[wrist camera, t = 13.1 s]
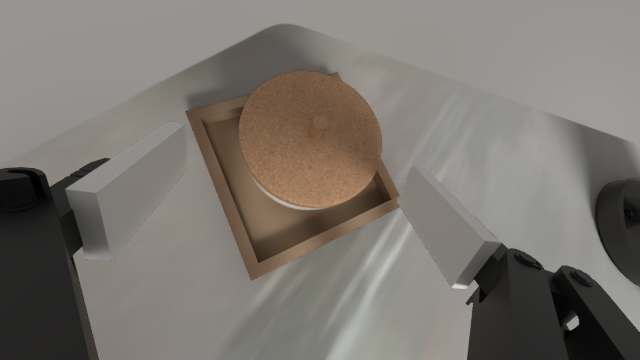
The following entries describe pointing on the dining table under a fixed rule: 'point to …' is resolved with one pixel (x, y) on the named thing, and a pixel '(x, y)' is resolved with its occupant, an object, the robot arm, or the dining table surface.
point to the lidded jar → (309, 140)
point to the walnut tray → (264, 213)
